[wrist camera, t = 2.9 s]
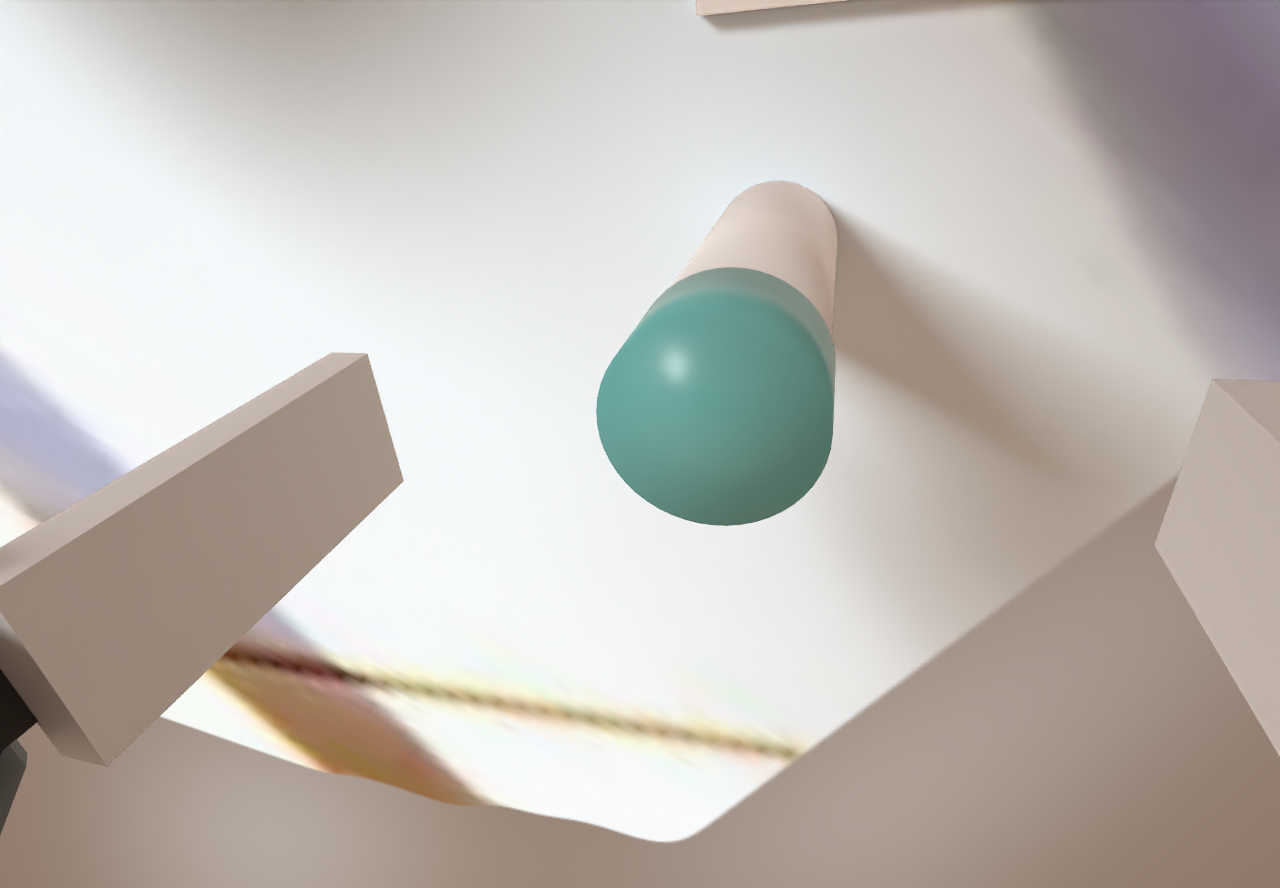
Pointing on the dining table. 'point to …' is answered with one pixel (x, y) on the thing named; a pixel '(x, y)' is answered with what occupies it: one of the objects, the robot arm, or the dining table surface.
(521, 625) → the dining table surface
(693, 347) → the marker
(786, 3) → the sheet
